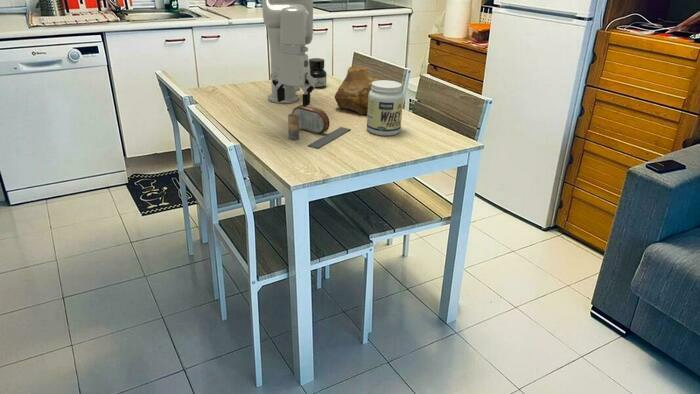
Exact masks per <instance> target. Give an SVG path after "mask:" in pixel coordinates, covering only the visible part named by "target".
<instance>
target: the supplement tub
mask: <svg viewBox="0 0 700 394" xmlns="http://www.w3.org/2000/svg"><path fill="white" fill-rule="evenodd" d="M402 87H403V85H402V83H401V82H398V81H395V80H387V79H386V80H385V79H384V80H383V79H382V80H379V81H374V82H372V86H371V89H372V90H371V91H370V92H369V95H368V113H367V114H366V116H367V117H366V130H367V131H368V132H369V133H371V134H373V135H376V136H384V137H386V136H387V137H388V136H394V135H397V134H399V132H401V130H402V118H403V117H402V114H403V107H404V106H403V104H404V94H403V92H402V90H403V88H402Z"/></svg>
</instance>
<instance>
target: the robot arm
mask: <svg viewBox="0 0 700 394" xmlns="http://www.w3.org/2000/svg"><path fill="white" fill-rule="evenodd" d="M261 4H262V19H263V23H264V25H265V26H266V28H267V37H268V42H269V50H270V51H269V53H270V74H269V78H270V80H271V82H270V84H271V86H270V87H271V94H269V95H268V97H267V100H268V101H269V102H271V103H275V104H293V103H297V102H298V101H299V100H300V97H299V95H298V94H297V92H300V90H302V92H303V94H302V105H303V106H309V105H311V104H310V103H311V93H312V92H313V91H314V90H316V89H315V86H316V84H317V80H316V79H314V78H313V77H312V76H310V65H309V59H310V58H309V56H308V54H307V53H306V52H309V47H307V46H306V45H310V44H311V43H312V41H313V35H314V0H262V1H261ZM310 82H311V86H310V87H309V84H310Z"/></svg>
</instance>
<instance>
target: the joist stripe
mask: <svg viewBox="0 0 700 394" xmlns="http://www.w3.org/2000/svg"><path fill="white" fill-rule="evenodd" d="M351 130H352V129H351V128H347V127H343V126H342V127H341V126H340V127H338V128H337V129H335V130H333V131H331V132H329V133H327V134H326V135H324V136H322V137H320V138H318V139H317V140H314V141H313V142H311V143H309V144H308V145H307V147H309V148H311V149H317V150H319V149H321V148H322V147H324V146H325V145H328V144H329V143H331V142H333V141H335V140H336V139H337V138H339V137H342V136H344V135H345V134H347V133H348V132H350V131H351Z"/></svg>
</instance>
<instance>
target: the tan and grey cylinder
mask: <svg viewBox="0 0 700 394" xmlns="http://www.w3.org/2000/svg"><path fill="white" fill-rule="evenodd" d="M287 125H288V126H287V130H288V131H287V133H288V134H287V136H288V140H290V141H296V140H299V139H300V129H299V115H298V114H292V113H289V114H288V115H287Z"/></svg>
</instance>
